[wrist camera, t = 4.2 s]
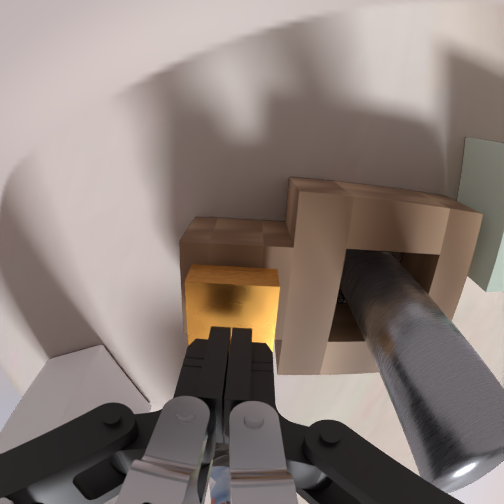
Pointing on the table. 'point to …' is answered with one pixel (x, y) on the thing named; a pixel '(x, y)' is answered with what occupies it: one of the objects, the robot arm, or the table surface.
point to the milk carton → (70, 395)
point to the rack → (485, 209)
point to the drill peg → (426, 372)
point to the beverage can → (220, 475)
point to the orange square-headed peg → (232, 300)
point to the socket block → (337, 261)
